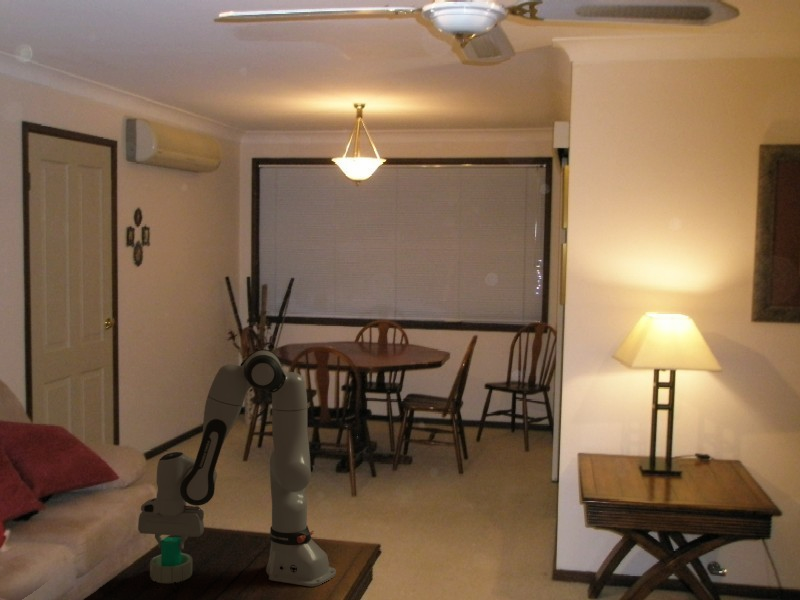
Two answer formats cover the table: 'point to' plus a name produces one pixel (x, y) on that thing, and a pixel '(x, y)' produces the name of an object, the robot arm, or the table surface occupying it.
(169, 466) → the robot arm
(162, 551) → the candle
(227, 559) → the table surface
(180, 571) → the dish
